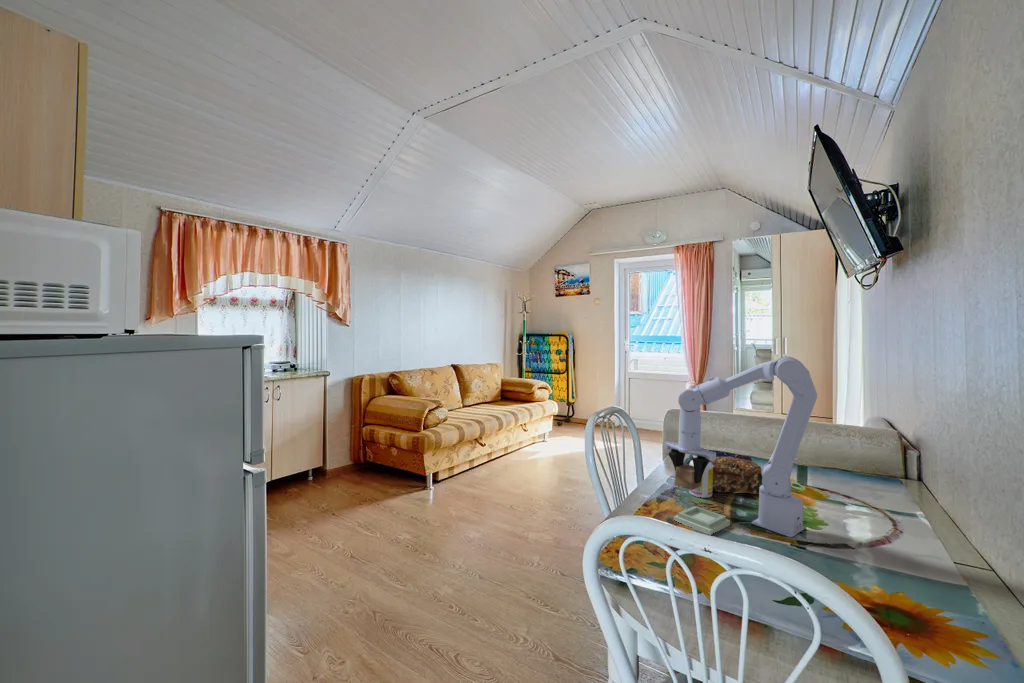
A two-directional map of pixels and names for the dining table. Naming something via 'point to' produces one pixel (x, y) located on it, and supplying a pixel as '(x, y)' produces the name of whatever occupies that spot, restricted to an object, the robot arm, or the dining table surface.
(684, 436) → the robot arm
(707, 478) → the supplement bottle
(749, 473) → the bread
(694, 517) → the plate
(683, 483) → the cube
